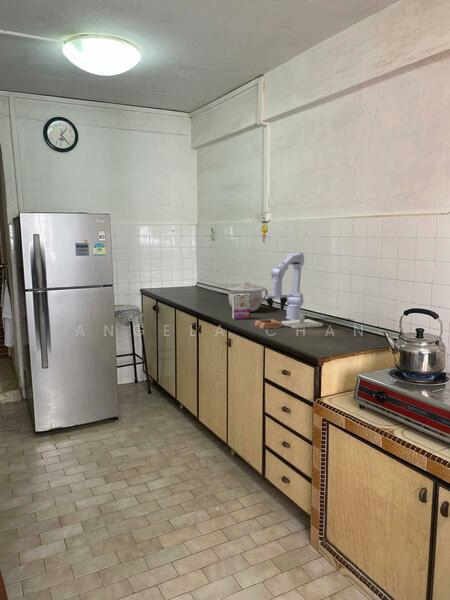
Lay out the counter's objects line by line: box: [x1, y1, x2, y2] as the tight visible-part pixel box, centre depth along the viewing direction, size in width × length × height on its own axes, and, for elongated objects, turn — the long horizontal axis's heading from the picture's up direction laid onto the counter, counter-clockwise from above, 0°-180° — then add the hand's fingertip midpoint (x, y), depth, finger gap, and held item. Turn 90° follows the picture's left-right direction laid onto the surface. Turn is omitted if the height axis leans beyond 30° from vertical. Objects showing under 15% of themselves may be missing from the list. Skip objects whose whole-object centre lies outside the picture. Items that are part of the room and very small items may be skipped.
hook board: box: [280, 313, 324, 329], centre depth 283 cm, size 16×20×6 cm
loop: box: [254, 318, 283, 330], centre depth 278 cm, size 12×12×3 cm
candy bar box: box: [231, 294, 251, 321], centre depth 301 cm, size 11×5×16 cm, turn 105°
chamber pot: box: [226, 282, 269, 313], centre depth 332 cm, size 28×28×21 cm
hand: (276, 310), depth 278 cm, fingers open, 7 cm apart
